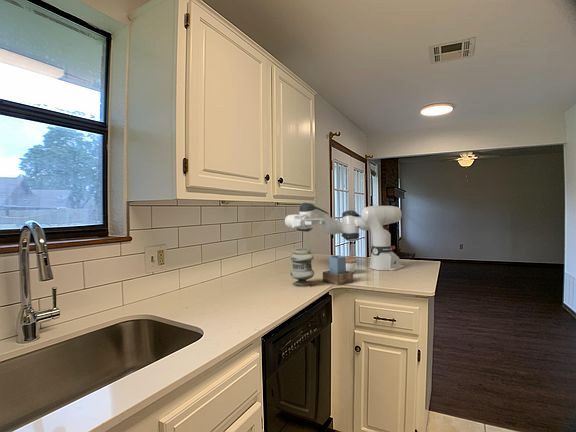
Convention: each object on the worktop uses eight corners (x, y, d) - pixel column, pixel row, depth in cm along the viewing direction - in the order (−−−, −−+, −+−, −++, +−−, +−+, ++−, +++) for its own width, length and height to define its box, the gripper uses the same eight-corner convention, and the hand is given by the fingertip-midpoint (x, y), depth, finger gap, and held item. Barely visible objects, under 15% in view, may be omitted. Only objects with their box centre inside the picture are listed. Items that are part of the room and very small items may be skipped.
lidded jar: (358, 274, 187) (358, 258, 187) (339, 275, 187) (339, 258, 187) (355, 271, 198) (354, 255, 197) (337, 271, 198) (337, 255, 198)
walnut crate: (337, 278, 179) (337, 269, 178) (352, 281, 170) (352, 272, 170) (322, 281, 172) (322, 271, 172) (337, 285, 163) (337, 275, 163)
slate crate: (337, 277, 175) (337, 255, 175) (345, 279, 170) (345, 256, 170) (329, 279, 172) (329, 256, 171) (337, 281, 167) (337, 258, 166)
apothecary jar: (286, 285, 163) (285, 250, 163) (296, 280, 174) (296, 247, 173) (308, 288, 158) (308, 251, 157) (318, 283, 168) (317, 248, 168)
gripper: (316, 226, 205) (331, 227, 194) (290, 227, 193) (304, 229, 182) (316, 216, 205) (331, 216, 194) (289, 217, 193) (304, 217, 182)
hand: (318, 222), depth 188 cm, fingers open, 8 cm apart
